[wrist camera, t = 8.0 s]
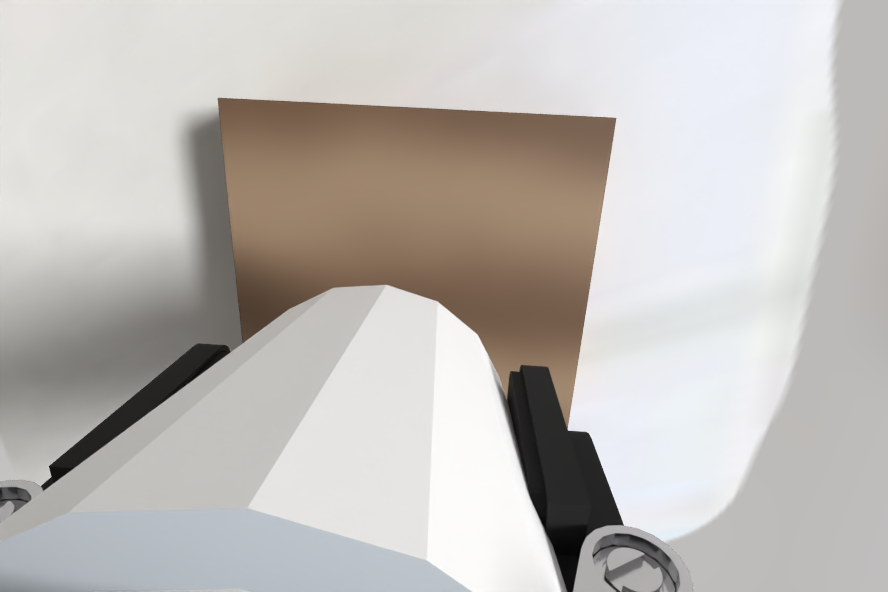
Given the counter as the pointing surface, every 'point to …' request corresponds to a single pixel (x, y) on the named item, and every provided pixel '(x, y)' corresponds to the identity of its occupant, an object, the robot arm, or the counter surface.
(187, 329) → the counter surface
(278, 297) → the walnut base
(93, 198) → the counter surface
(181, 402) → the white and grey cylinder
